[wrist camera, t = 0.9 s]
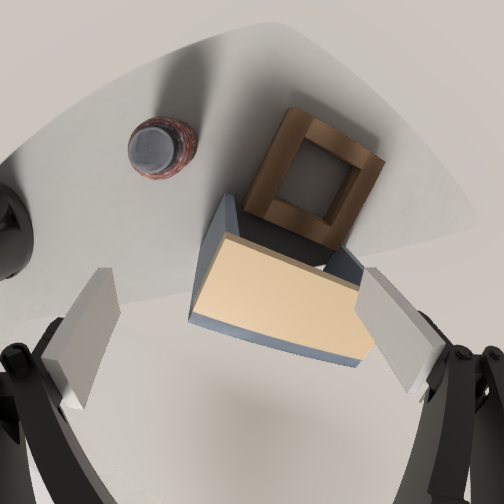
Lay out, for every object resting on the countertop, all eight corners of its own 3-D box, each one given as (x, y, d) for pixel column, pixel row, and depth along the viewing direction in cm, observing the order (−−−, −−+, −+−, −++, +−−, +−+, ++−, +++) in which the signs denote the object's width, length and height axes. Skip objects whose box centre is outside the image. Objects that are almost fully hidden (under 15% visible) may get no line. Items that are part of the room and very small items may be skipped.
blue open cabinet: (200, 248, 37) (187, 322, 23) (224, 192, 35) (225, 238, 21) (317, 293, 42) (355, 367, 28) (345, 246, 39) (401, 309, 25)
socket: (241, 203, 36) (243, 210, 33) (288, 108, 31) (294, 107, 28) (329, 242, 39) (337, 251, 36) (374, 158, 34) (385, 162, 32)
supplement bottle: (203, 162, 33) (193, 178, 23) (155, 174, 33) (126, 194, 23) (193, 114, 31) (178, 107, 20) (145, 127, 31) (110, 127, 20)
